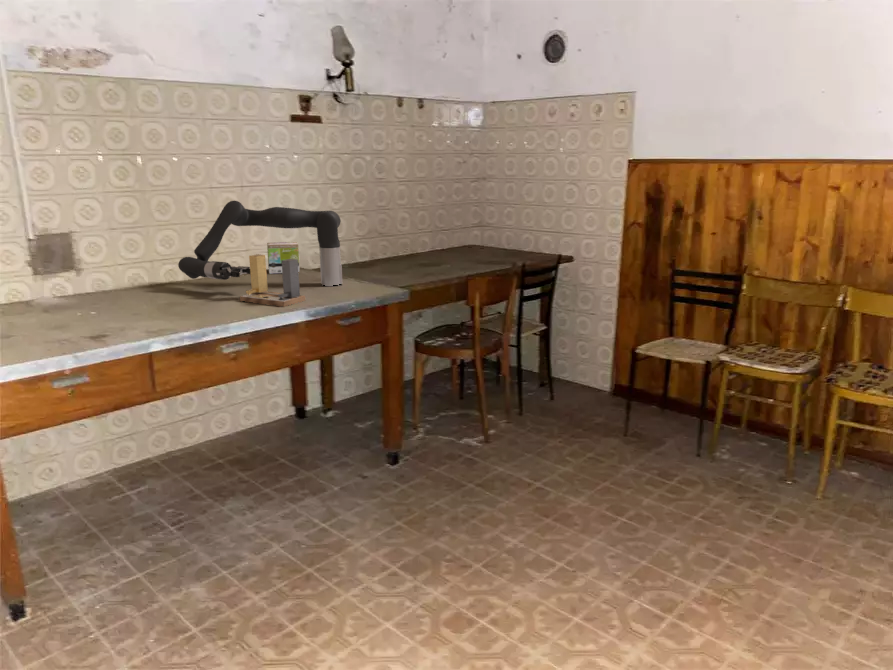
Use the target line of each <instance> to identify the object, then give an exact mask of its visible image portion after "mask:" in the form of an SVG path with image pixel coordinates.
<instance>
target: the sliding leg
mask: <svg viewBox="0 0 893 670" xmlns="http://www.w3.org/2000/svg"><path fill="white" fill-rule="evenodd" d="M248 259H249V267H250V273H251V274H250V284H251V288H250V289H247V290H245V293H246V294H248V295H250V294H252V293H256V292H257V293H260V292H264V291H268V289H269V288H268V278H267V276H268V275H267V263H266V262H267V261H266V254H259V253H258V254H257V253H256V254H251V255H249V256H248ZM268 292H269V291H268ZM246 294H245V295H246Z"/></svg>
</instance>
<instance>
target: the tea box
mask: <svg viewBox="0 0 893 670" xmlns="http://www.w3.org/2000/svg"><path fill="white" fill-rule="evenodd" d="M266 243H267V244H266V248H267V265H268V274H269V275H272V274H282V260H287V259H297V260H298V272H299V273H300V255H299V254H300V253H299V251H300V250H299V243H298V241H283V242H281V241H278V242H266Z"/></svg>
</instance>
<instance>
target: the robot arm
mask: <svg viewBox="0 0 893 670" xmlns="http://www.w3.org/2000/svg"><path fill="white" fill-rule="evenodd" d="M341 222H342V221H341V217H340V216H339V214H338V213H337V212H336V211H334V210H305V209H300V208H299V209H298V208H292V207H286V206H285V207H284V206H283V207H280V206H273V207H268V208H266V209H261V210H259V209H257V210H256V209H248V208H245V206H244V205H243V204H242V202H240V201H238V200H230V201H229V202H227V203H226V204H225V205H224V207H223V209H221V212H220V213H219V215H218V217H217V219H216V220H215V222H214V223H213V225H212V227H211V228H210V230H209V231H208V233H206V235H205V237H203V239H202V240H201V241H200V242H199V244H198V245H197V246H196V247H195V248H194V251H193V252H194V254H195V255H196V257H192V256H184V257H182V258H181V259H180V260H179V262H178V264H177V265H178V269H179V270H180V271H181V272H182V273H183V274H185V275H186V276H188V278H190V279H192V280H195V279H197V278H199V277H202V278H208V279H209V278H210V279H212V280H213V279H215V280H220V281H221V280H223V281H225V280H228V279H230V278H240V276H242V275H244V274H245V275H247V274H248V275H251V273H250V266H245V265H241V266H240V265H238V266H234V265H231V264H230V263H229V262H227V261H216V260H214V261H209V259H210V258H211V257H212V256H213V254H214V253H215V252H216V251H217V249H219V247H220V244H221V242H222V240H223V237H224V235H225V233H226V231H227V230H228V229H229V227H230V226H231V225H233V226H235V227H251V226H253V227H255V226H257V227H268V228H276V229H278V228H279V229H304V228H314V229H316V233H317V234H316V235H317V241H318V246H319V247H318V248H319V265H320V267H319V269H320V284H322V285H321V286H323V285H325V286H324V287H334V286H333V285H338V286H340V285H339V284H343V267H342V263H341V262H342V261H341V259H342V258H341V241H340V239H339V231H338V228H339V227H340V225H341Z"/></svg>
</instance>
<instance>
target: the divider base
mask: <svg viewBox="0 0 893 670" xmlns="http://www.w3.org/2000/svg"><path fill="white" fill-rule="evenodd" d="M299 274H300V272H299V273H298V260H297V259H287V260H282V273H281V275H282V286H283V292H273V291H264V292H260V293H257V292H256V293H252V294H250V295H248V294H243V295H240V296H239V301H240V302H242V301H245V302H244V303H249V302H253V303H252V304H257V303H259V304H258V305H265V304H267V305H268V306H273V305H276V306H275V307H281V306H283V307H282V308H285V306H286V307H289V306H292V305H291V304H293V305H296V304H299V303H302V301H303V302H306V295H301V291H300V277H299ZM298 302H299V303H298ZM295 303H296V304H295ZM267 305H266V306H267ZM288 305H289V306H288Z"/></svg>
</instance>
